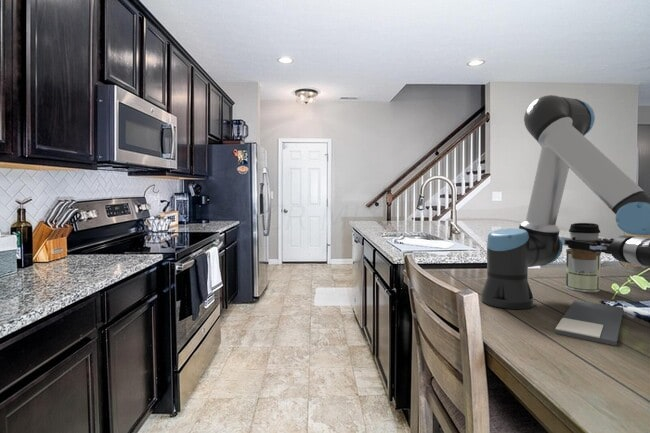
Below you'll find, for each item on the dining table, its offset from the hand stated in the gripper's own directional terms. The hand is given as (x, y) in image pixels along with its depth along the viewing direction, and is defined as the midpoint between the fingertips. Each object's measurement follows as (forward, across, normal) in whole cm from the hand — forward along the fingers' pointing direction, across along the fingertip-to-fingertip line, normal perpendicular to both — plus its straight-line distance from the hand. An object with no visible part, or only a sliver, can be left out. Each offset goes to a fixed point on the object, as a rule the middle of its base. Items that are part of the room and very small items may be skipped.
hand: (573, 240), depth 122 cm
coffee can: (+8, +10, -19) cm, 23 cm away
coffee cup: (-5, 0, -9) cm, 10 cm away
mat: (-24, -13, -19) cm, 33 cm away
